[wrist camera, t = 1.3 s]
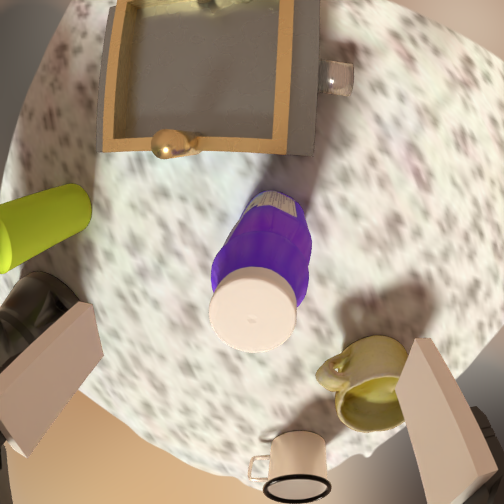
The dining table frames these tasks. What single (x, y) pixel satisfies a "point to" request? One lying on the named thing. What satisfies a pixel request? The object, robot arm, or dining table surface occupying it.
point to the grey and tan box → (213, 77)
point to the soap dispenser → (41, 222)
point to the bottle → (261, 274)
